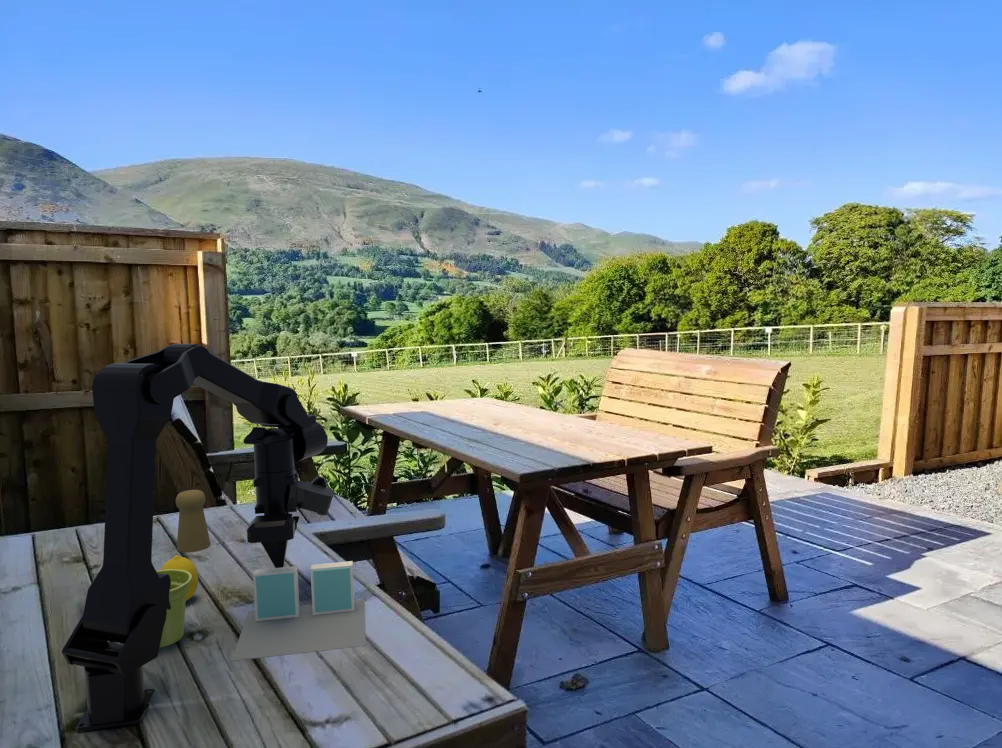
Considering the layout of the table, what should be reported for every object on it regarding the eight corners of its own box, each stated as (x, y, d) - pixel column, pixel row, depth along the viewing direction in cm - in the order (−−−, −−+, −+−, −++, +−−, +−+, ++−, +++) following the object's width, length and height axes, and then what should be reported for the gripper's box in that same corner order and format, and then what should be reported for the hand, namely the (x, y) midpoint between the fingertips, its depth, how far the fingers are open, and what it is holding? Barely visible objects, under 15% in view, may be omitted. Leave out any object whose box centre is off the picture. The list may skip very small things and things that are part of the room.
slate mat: (365, 649, 93) (365, 645, 93) (231, 665, 90) (231, 660, 90) (364, 602, 108) (364, 598, 108) (249, 614, 104) (248, 610, 104)
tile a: (298, 617, 102) (296, 571, 101) (255, 621, 100) (252, 575, 100) (299, 611, 104) (297, 566, 103) (257, 615, 102) (254, 569, 102)
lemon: (184, 614, 105) (181, 563, 104) (152, 612, 106) (148, 561, 105) (207, 599, 110) (203, 550, 109) (176, 597, 111) (172, 548, 110)
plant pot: (112, 664, 90) (106, 600, 90) (129, 631, 99) (125, 573, 99) (189, 653, 93) (185, 591, 92) (200, 622, 102) (196, 565, 101)
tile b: (354, 611, 103) (352, 565, 102) (312, 615, 102) (310, 569, 101) (354, 605, 105) (352, 560, 104) (313, 610, 104) (311, 564, 103)
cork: (176, 544, 136) (172, 489, 135) (210, 539, 138) (206, 485, 137) (176, 554, 130) (172, 497, 129) (211, 549, 133) (207, 492, 132)
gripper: (326, 480, 98) (331, 586, 100) (331, 453, 116) (335, 543, 118) (243, 485, 96) (249, 594, 98) (261, 457, 114) (266, 549, 116)
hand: (279, 568), depth 107 cm, fingers closed
